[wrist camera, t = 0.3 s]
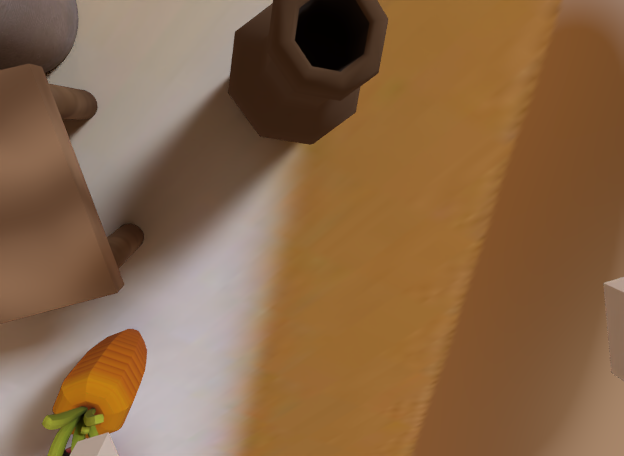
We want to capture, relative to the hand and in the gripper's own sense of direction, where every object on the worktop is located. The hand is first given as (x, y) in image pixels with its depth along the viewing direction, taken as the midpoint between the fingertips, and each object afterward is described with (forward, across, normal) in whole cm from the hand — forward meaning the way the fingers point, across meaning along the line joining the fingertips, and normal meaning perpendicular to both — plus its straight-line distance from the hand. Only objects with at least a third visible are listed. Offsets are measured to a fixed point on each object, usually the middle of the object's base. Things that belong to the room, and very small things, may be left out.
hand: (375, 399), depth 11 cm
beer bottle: (+28, +2, +10) cm, 29 cm away
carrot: (+28, -16, -7) cm, 33 cm away
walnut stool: (+27, -19, +7) cm, 34 cm away
